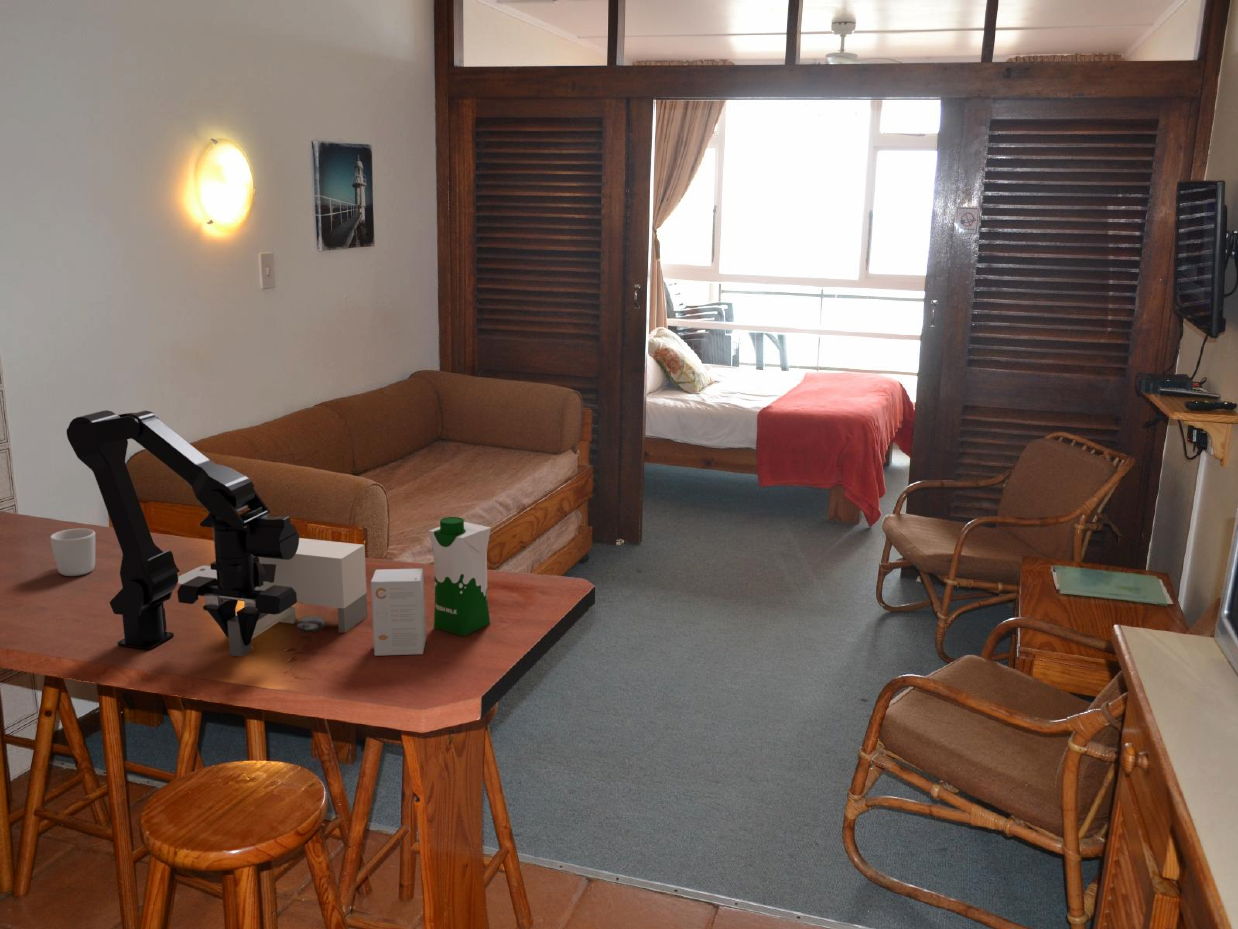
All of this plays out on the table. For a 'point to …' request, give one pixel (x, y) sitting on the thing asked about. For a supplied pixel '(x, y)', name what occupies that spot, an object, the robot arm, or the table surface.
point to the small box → (398, 611)
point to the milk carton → (460, 575)
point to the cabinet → (325, 578)
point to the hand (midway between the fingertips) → (240, 643)
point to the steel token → (310, 624)
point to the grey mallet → (263, 624)
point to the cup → (74, 551)
